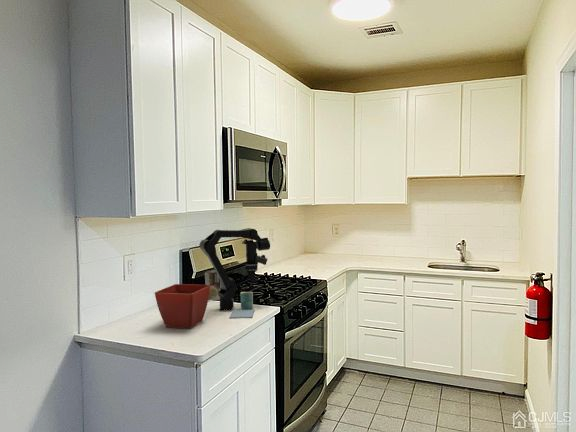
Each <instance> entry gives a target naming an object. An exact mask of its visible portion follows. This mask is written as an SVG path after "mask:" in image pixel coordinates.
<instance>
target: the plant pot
mask: <svg viewBox="0 0 576 432" xmlns="http://www.w3.org/2000/svg"><path fill="white" fill-rule="evenodd" d="M209 292H210V285H205V284H191V283H190V284H188V283H186V284H185V283H180V284H179V283H175V284H172V285H170V286H167V287H165V288H163V289H160V290H157V291H155V292H154V297H155V302H156V305H157V308H158V312H159V314H160V317H161V319H162V321H163V324H164V326H165V328H175V329H176V328H177V329H192V328H194V327H196V326H197V325H198V324H200V323H201V322H203V320H204V317H205V314H206V311H207V305H208V302H209V300H208V298H209Z"/></svg>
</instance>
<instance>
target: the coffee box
mask: <svg viewBox="0 0 576 432" xmlns="http://www.w3.org/2000/svg"><path fill="white" fill-rule="evenodd" d="M204 281H205V284H204V285H210V292H209V298H208V301H220V297H219V295H218V292H219V291H220V290H221V283H220V279H219V277H218V275H217V273H216V271H215V270H207V271H205V272H204Z"/></svg>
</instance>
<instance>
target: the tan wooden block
mask: <svg viewBox="0 0 576 432" xmlns="http://www.w3.org/2000/svg"><path fill="white" fill-rule="evenodd" d="M253 294H254V293H253V291H241V292H240V294H239V295H240V310H254V299H253V298H254V296H253Z"/></svg>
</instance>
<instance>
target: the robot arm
mask: <svg viewBox="0 0 576 432" xmlns="http://www.w3.org/2000/svg"><path fill="white" fill-rule="evenodd" d="M221 238H243V241H242V242H241V244H242V245H245V253H246V254H245V258H246V259H245V260H246V261H245V263H246V264H245V272H246V273H247V276H248V279H249V280H250V282H251V283H254V280H255V275H256V274H255V273H256V272H257V271H258V266H259V264H261V265H262V264H263V265H264V266H267V262H268V258H267V257H266V255H265V254H261V255H258V253H257V252H258V251H268V250H270V249H271V243H270V240H269V238H268V237H261V236H260V235H259V234H258V231H257V229H255V228H249V227H248V228H247V227H246V228H241V229H237V230H236V229H235V230H234V229H229V230H228V229H215V230H213V232H212V233H211V234H209V235H207V237H205V238H204V239H202V240H201V241H200V242H199V248H200V250H201V251H202V252H203V253H204V255H205V256H206V257H207V258H208V259H209V262H210V263H211V266H212V267H213V270H214V271H216V273H217V275H218V277H219V279H220V283H221V290H220V291H219V292H218V295H219V297H220V300H219V311H220V312H221V311H233V310H234V308H235V307H234V306H235V303H234V302H235V301H234V298H235V294H236V293H237V290H238V288H237V286H238V284H237V283H235V279H234V278H231V277H229V275H228V274H227V272H226V270H225V268H224V266H223V265H222V263H221V261H220V259H219V257H218V255H217V249H216V245H217V244H218V243H219V241H220V240H221ZM248 239H249V240H248Z"/></svg>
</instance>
